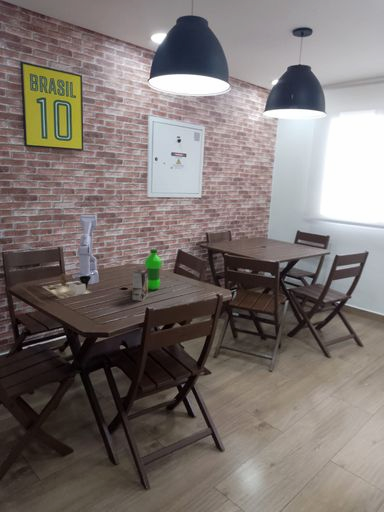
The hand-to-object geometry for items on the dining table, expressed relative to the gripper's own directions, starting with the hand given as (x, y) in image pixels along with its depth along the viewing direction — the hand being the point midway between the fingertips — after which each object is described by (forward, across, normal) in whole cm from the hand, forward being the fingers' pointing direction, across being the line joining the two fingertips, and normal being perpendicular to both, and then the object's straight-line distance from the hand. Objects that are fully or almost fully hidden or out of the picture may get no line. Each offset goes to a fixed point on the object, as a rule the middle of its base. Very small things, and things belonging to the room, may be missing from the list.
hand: (84, 288), depth 215 cm
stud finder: (+2, -5, 0) cm, 5 cm away
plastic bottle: (+3, +38, -15) cm, 41 cm away
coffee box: (+3, +21, -26) cm, 34 cm away
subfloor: (+3, -8, +8) cm, 11 cm away
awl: (+2, -6, +17) cm, 18 cm away
